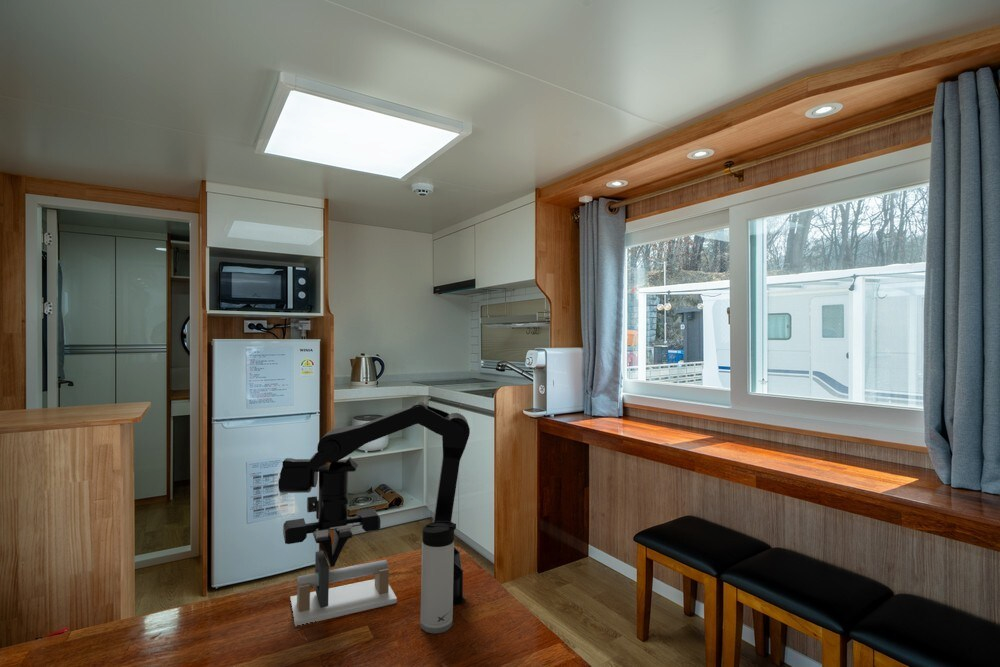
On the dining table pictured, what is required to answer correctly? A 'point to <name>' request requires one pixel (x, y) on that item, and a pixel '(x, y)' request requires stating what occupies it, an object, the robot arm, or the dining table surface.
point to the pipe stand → (343, 593)
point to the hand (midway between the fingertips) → (332, 566)
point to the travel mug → (437, 576)
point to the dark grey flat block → (322, 578)
